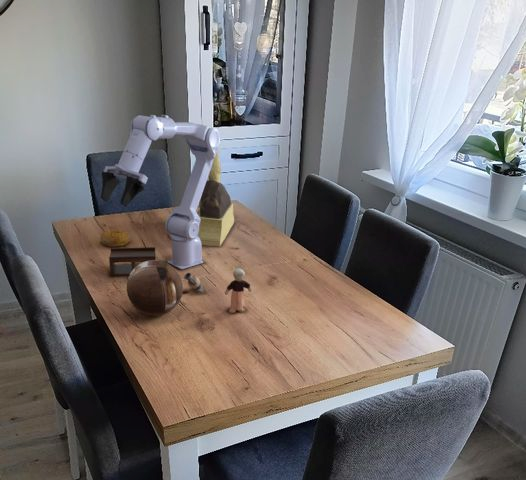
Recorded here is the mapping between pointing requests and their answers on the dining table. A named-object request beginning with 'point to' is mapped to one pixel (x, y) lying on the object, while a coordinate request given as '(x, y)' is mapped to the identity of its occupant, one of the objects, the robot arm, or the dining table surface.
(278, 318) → the dining table surface
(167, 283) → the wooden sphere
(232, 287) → the grandmother figurine
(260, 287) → the dining table surface
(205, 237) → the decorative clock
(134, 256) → the shelf
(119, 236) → the bagel
